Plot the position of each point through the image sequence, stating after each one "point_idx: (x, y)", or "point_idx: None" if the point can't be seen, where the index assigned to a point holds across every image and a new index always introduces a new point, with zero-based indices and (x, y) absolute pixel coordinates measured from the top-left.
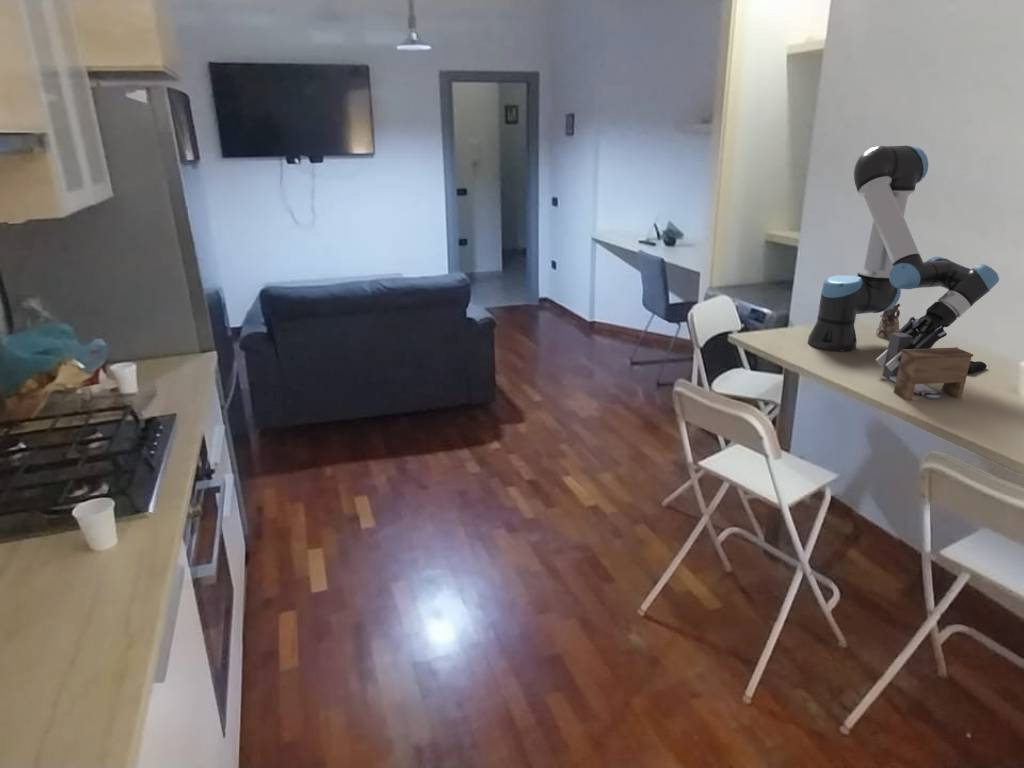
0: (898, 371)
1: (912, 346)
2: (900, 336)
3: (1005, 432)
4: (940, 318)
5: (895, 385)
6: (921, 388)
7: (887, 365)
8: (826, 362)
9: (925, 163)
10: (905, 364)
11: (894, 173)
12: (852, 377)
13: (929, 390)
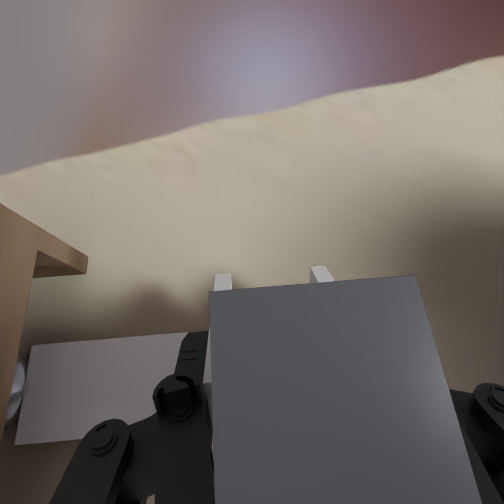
0: (15, 214)
1: (158, 463)
2: (233, 316)
3: None
4: None
5: (67, 245)
6: (54, 387)
7: (215, 276)
8: (454, 177)
9: None
10: None
11: None
12: (269, 189)
13: (11, 408)
